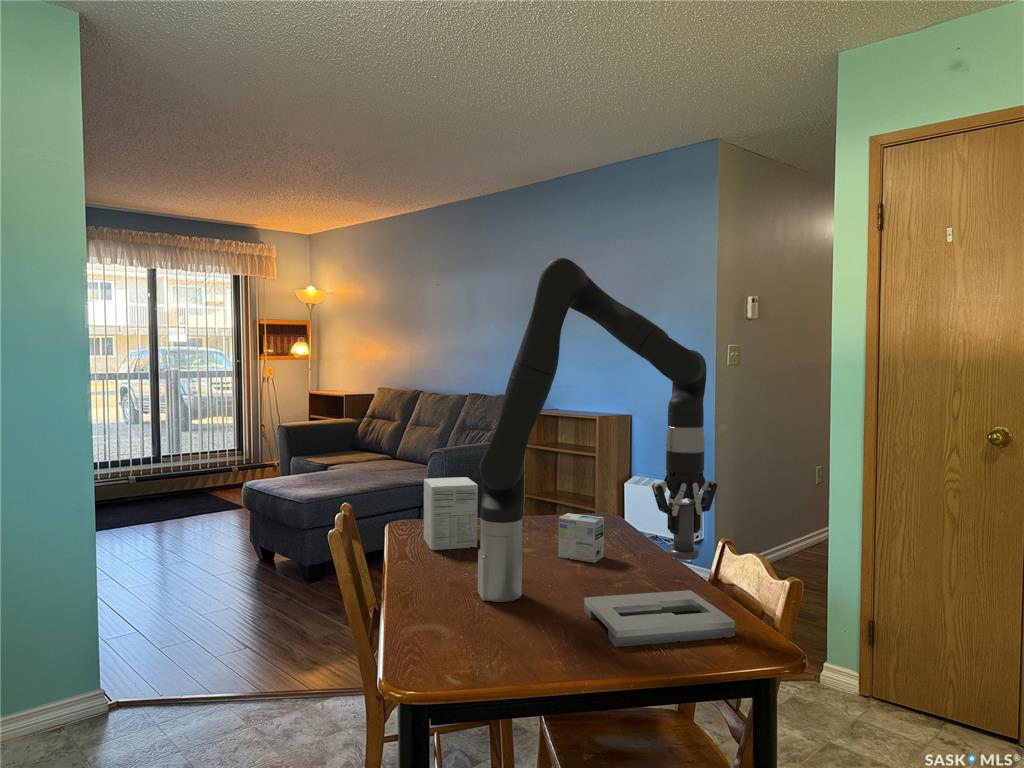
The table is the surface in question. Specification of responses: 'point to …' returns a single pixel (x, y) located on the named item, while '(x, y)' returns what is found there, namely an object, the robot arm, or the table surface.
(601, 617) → the keyhole plate
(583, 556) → the light bulb box
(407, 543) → the table surface
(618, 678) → the table surface
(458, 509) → the supplement box
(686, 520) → the headed peg
